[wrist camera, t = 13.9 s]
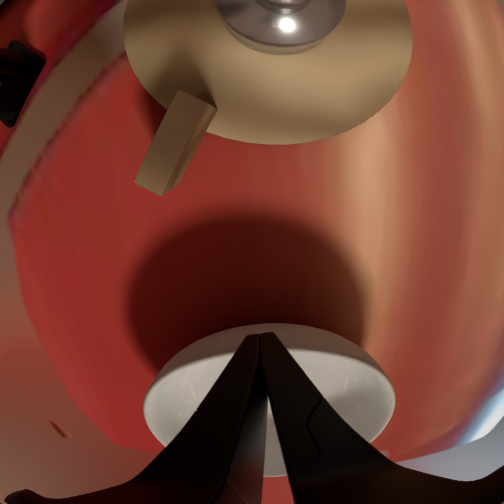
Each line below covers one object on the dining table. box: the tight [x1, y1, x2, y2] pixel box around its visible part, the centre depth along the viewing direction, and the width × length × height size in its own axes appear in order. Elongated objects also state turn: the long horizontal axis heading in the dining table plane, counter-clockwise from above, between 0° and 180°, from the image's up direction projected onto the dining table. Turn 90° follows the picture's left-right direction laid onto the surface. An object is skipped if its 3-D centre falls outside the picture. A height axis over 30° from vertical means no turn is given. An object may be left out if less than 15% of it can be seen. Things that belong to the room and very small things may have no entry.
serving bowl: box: [143, 323, 395, 477], centre depth 23 cm, size 21×21×7 cm
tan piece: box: [123, 0, 412, 196], centre depth 11 cm, size 21×19×5 cm
